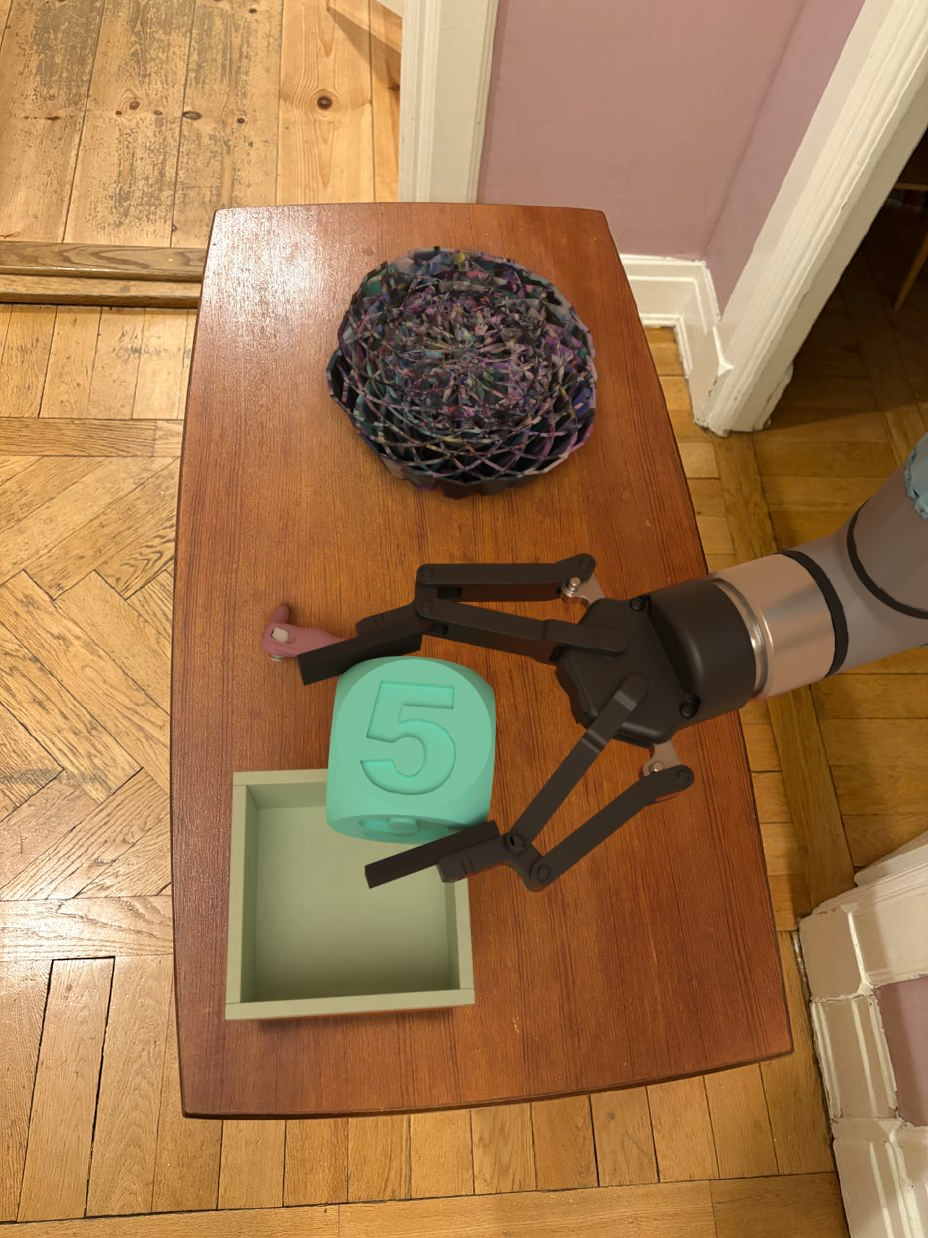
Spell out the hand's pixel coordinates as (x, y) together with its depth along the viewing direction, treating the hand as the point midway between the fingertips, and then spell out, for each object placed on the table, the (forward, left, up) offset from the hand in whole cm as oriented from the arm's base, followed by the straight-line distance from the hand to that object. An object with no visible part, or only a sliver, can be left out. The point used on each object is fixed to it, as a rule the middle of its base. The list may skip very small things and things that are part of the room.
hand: (332, 770), depth 47 cm
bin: (-4, +2, -18) cm, 18 cm away
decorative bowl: (+31, -35, -34) cm, 58 cm away
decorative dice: (-1, -4, -6) cm, 7 cm away
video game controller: (+17, -9, -34) cm, 39 cm away
